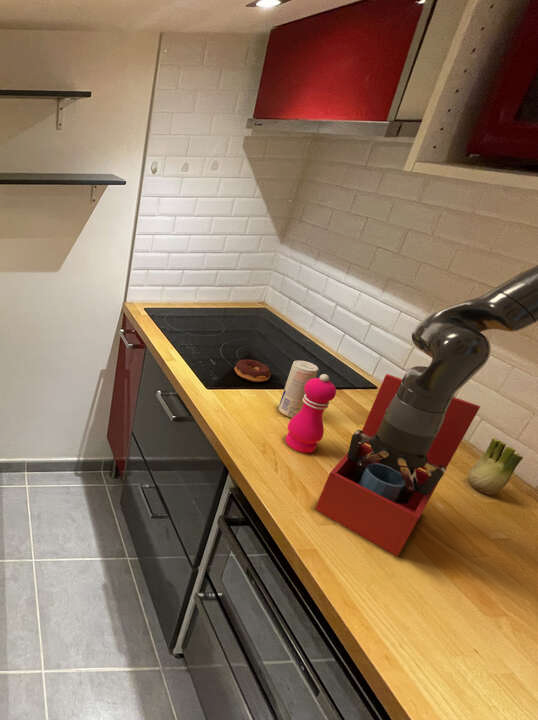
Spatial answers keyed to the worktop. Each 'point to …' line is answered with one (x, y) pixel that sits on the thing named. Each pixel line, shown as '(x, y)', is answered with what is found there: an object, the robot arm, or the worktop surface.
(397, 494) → the cup
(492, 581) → the worktop surface
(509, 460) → the fennel bulb
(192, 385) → the worktop surface
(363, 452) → the cooler
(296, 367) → the beverage can
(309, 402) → the pepper mill
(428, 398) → the robot arm
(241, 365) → the donut
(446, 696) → the worktop surface
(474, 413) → the cooler lid
